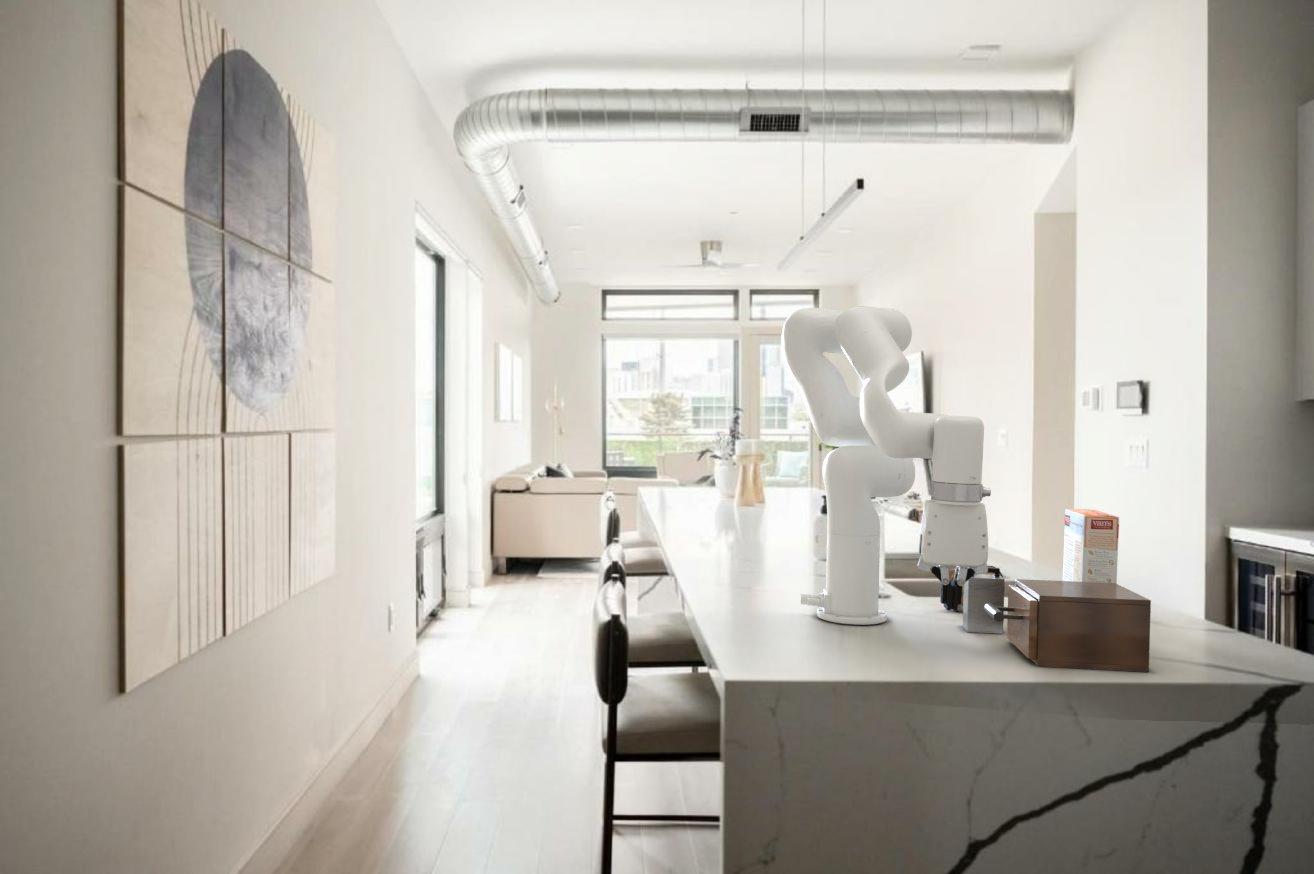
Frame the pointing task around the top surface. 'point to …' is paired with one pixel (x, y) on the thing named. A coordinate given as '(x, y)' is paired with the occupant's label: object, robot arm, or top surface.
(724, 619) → the top surface
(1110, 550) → the cracker box
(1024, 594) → the drawer
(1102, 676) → the top surface
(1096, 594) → the cabinet
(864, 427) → the robot arm
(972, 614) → the grater
